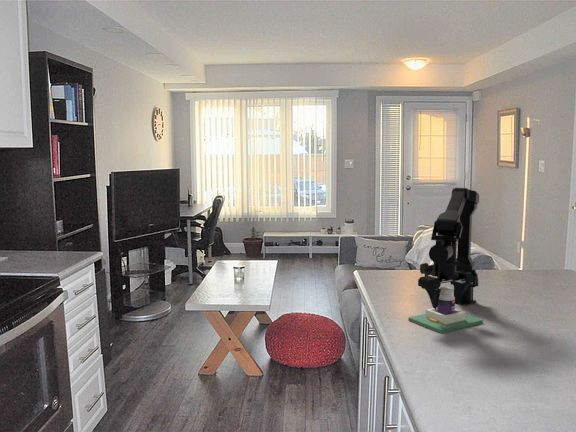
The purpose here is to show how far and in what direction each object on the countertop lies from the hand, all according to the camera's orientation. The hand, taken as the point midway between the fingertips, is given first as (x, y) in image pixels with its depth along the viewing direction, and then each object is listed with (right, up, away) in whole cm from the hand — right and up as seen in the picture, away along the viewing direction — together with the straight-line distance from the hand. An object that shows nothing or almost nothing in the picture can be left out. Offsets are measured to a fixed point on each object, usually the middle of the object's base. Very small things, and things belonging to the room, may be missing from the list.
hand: (445, 306), depth 171 cm
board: (0, -5, +1) cm, 5 cm away
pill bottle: (0, -4, +1) cm, 4 cm away
